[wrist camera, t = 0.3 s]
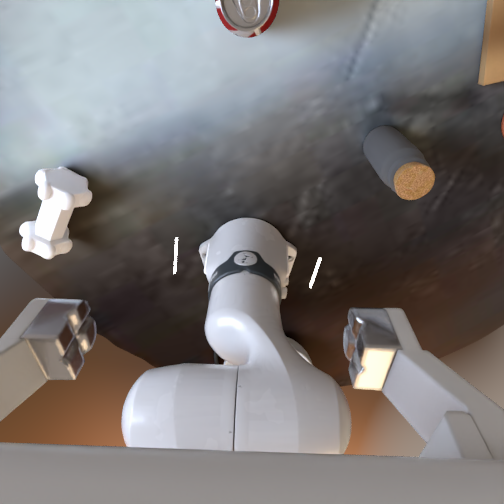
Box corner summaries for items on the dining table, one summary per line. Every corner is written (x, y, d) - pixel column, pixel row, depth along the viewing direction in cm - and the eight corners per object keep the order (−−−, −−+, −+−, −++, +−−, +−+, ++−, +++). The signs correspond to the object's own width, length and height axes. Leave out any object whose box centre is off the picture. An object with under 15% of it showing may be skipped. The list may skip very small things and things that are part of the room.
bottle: (408, 138, 54) (450, 176, 42) (381, 168, 57) (413, 212, 45) (381, 117, 53) (416, 150, 40) (354, 149, 55) (380, 189, 43)
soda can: (267, -42, 42) (268, -57, 32) (282, 21, 46) (287, 24, 36) (216, -20, 44) (202, -28, 34) (234, 40, 47) (227, 48, 37)
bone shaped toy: (52, 156, 58) (25, 175, 51) (102, 183, 60) (82, 205, 53) (32, 221, 65) (5, 245, 58) (77, 242, 68) (57, 268, 61)
